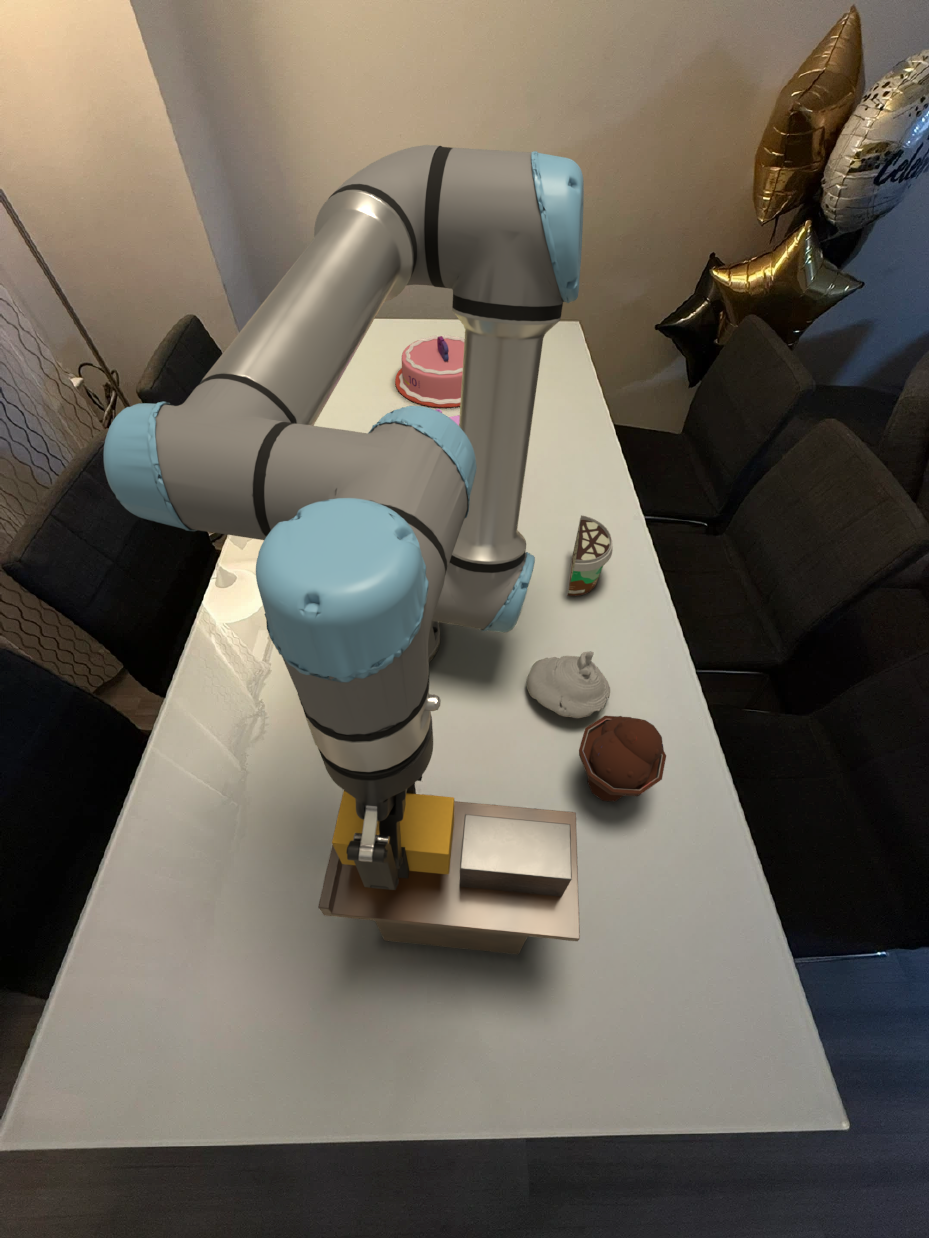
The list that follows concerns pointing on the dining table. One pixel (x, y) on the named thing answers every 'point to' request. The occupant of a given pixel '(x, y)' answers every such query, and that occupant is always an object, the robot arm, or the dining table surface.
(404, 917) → the serving tray
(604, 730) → the ice cream bowl
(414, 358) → the cake
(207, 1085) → the dining table surface
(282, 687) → the dining table surface
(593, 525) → the food container
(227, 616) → the dining table surface
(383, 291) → the robot arm
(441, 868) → the mustard back pad
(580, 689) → the grey clay mound
